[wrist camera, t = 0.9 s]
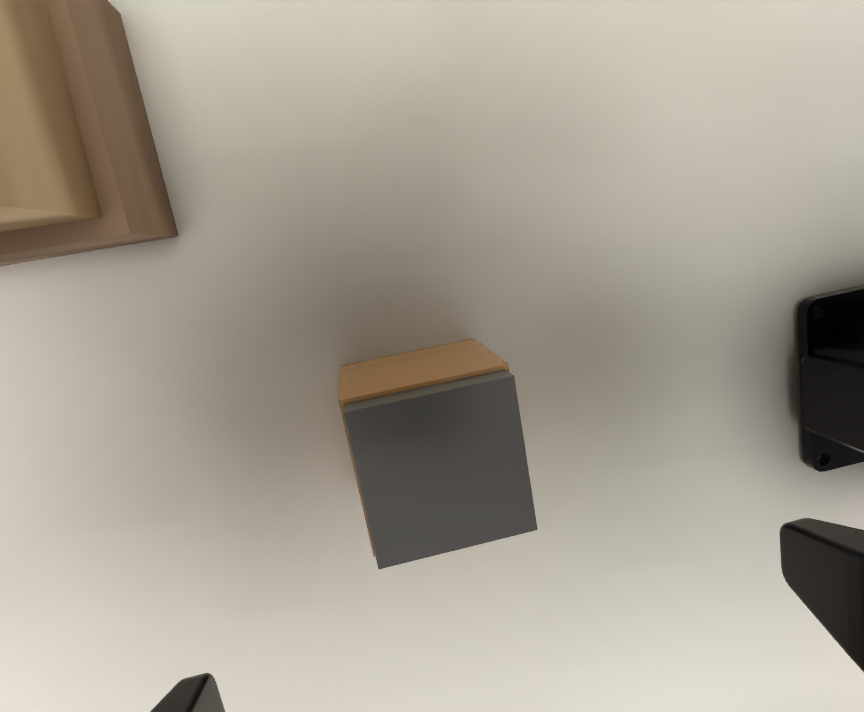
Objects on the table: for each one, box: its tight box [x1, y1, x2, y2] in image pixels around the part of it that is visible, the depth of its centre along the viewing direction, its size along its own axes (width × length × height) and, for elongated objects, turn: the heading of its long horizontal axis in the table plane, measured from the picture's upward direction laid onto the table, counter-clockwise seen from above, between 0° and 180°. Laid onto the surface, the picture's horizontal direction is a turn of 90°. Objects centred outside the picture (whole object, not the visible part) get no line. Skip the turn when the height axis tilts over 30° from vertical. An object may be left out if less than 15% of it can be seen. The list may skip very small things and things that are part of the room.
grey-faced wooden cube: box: [339, 339, 537, 569], centre depth 17 cm, size 4×4×5 cm
